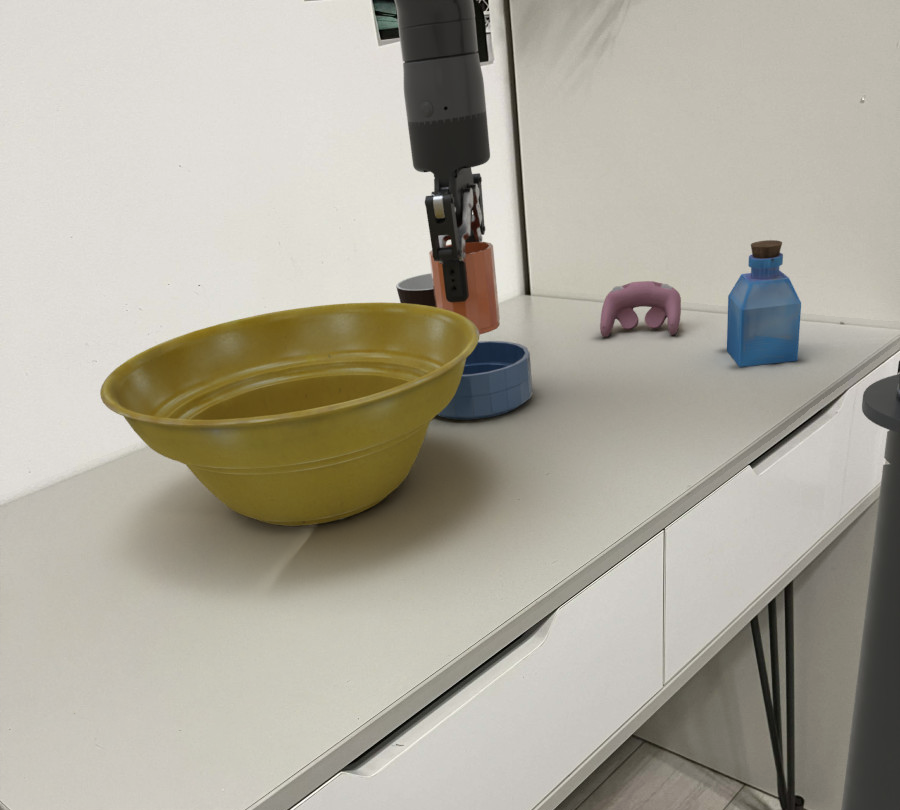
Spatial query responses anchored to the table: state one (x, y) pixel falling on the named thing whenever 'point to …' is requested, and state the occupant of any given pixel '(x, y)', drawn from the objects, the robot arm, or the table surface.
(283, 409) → the planter bowl
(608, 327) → the video game controller
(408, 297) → the coffee mug
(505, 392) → the bowl
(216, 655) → the table surface
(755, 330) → the perfume bottle
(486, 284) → the cup
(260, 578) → the table surface
